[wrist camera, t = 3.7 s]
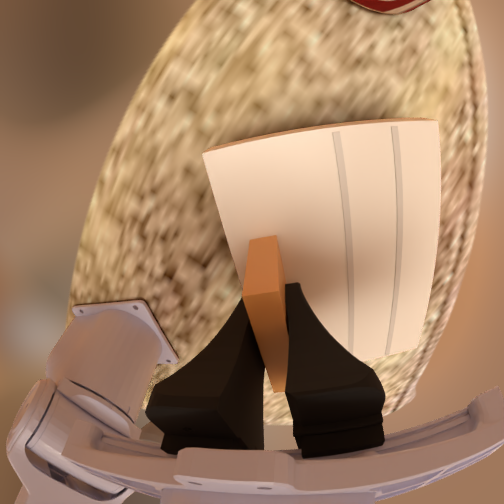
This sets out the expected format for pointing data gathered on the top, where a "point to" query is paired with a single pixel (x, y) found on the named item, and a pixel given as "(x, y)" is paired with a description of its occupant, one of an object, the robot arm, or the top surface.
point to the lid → (334, 230)
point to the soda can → (391, 5)
